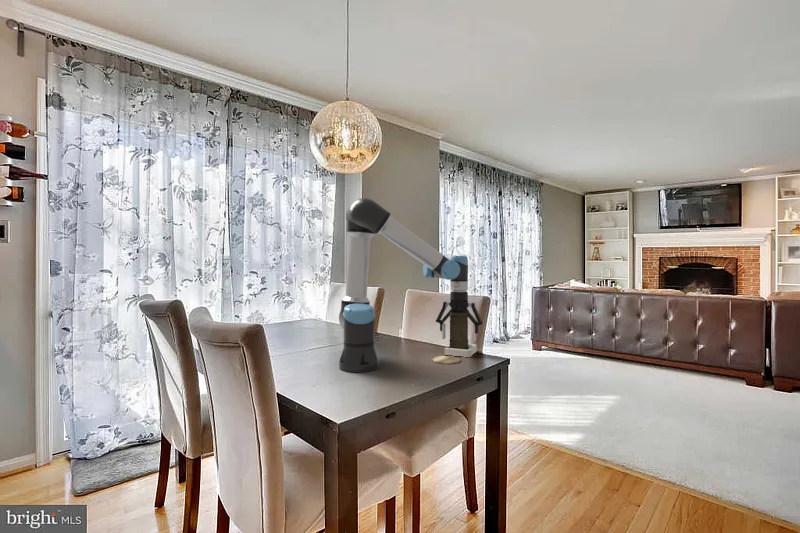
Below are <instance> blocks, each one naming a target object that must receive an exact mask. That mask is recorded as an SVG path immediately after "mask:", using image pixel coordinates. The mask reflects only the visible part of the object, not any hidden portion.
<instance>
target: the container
mask: <svg viewBox="0 0 800 533" xmlns="http://www.w3.org/2000/svg"><path fill="white" fill-rule="evenodd" d="M448 312H449V311H448ZM449 314H450V316H449V346H448V348H453V349H465V350H468V349H469V347H468V344H469V330H468V329H469V321H468V319H469V317H468V316H467V313H464V312H454V311H453V312H449Z"/></svg>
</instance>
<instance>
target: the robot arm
mask: <svg viewBox="0 0 800 533" xmlns="http://www.w3.org/2000/svg"><path fill="white" fill-rule="evenodd" d="M345 219H346V232H345V233H346V234H347V235H348V237H349V242H348V257H347V271H346V272H347V273H346V288H345V295H344V297H342V298H341V302H340V312H339V313H338V314H339V315H338V320H339V324H340V325H341V328H343V348H342V351H341V354H340V358H339V360H338V361H339V362H338V368H339V369H340V371H341V370H342V371H344V372H349V373H350V372H351V373H364V372H371V371H375V370H377V369H379V368H380V360H379V355H378V353H377V350H376V346H375V338H376V337H375V336H376V335H375V333H376V332H375V317H376V313H375V308H374V307H373V305H371V304H370V303H371V301H370V299H369V298H368V297H367V296H368V285H369V283H368V281H369V267H370V266H369V265H370V255H371V254H370V252H371V242H372V241H371V240H372V238H373V237H374V236H375V235H382V236H383V237H384V238H386V239H387V240H388V241H390V242H392V243H393V244H394V245H395V246H397V247H398V248H400V249H402V250H403V251H404V252H406V253H407V254H408V255H410V256H411V257H413V258H414V259H415V260H417V261H419V262H420V263H421V264H423V266H422V271H423V276H424V277H425V278H427V279H428V278H429V279H443V280H447V281H449V280H450V283H449V284H450V285H449V286H450V292H449V293H450V295H449V296H450V301H443V303H442V307H441V310H440V311H439V314H437V317H436V318H435V319H436V320H435V322H436V323H438V324H439V331H440V332H441V339H442V340H445V339H446V323H445V322H446V321H447V320H448V318H450V314H449V312H453V311H454V312H464V313H467V316H468V319H469V320H470V321H471V323H473V326H472V342H476V341H477V334H479V328H480V327H479V326H481V325H483V323H484V322H483V320H482V318H481V315H480V314H479V312H478V309H477V307H476V303H475V302H470V303H469V293H468V291H469V281H468V280H469V279H468V278H469V259H468V256H466V255H451V256H450V258H448V257H446V255H444V254H442V253H441V252H439V250H437V249H436V248H434V247H433V246H432V245H430V244H429V243H428V242H426V241H425V240H423V239H422V238H421V237H419V236H417V235H416V234H415V233H413V232H412V231H411V230H409V229H408V228H407V227H405V226H404V225H403V224H401V223H400V222H398V220H396V219H395V218H393V217H392V213H391V212H389V211H388V210H387V209H385V208H384V207H383V206H382V205H380V204H379V203H377V202H376V201H375V200H373V199H372V198H367V197H362V198H358V199H357V200H355V201H354V202H353V203H351V205H350V206H349V207H348V208H347V210H346V214H345ZM448 307H450V309H449V311H448V312H447V313H446V314H445V315H444V313H445V311H446V310H447V308H448ZM468 308H471V311H472V312H473V314H474V315H472V313H471V312H470V311H469V309H468ZM443 315H444V316H443Z"/></svg>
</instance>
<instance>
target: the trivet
mask: <svg viewBox="0 0 800 533" xmlns="http://www.w3.org/2000/svg"><path fill="white" fill-rule="evenodd" d="M432 361H433V362H434V363H437V364H440V363H441V364H440V365H455V364H458V362H459V363H460V362H461V358H460V357H454V356H445V355H439V356H434V357H432ZM454 363H455V364H454Z"/></svg>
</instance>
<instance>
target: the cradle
mask: <svg viewBox="0 0 800 533" xmlns="http://www.w3.org/2000/svg"><path fill="white" fill-rule="evenodd" d="M468 347H469V349H468V350H465V349H453V348H449V347H445V348H444V356H445V355H453V357H454V356H464V357H463V358H465V357H471V356H472V355H473V354H474V353H475V354H476V353H477V351H478V343H468ZM475 354H474V355H475ZM472 357H473V356H472ZM472 357H471V358H472Z"/></svg>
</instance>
